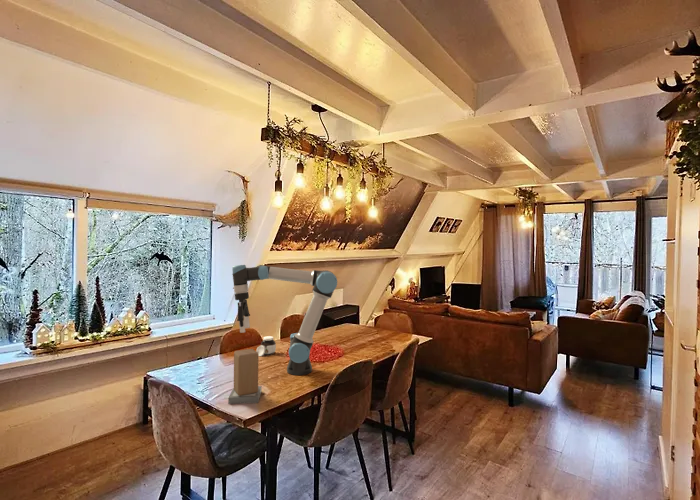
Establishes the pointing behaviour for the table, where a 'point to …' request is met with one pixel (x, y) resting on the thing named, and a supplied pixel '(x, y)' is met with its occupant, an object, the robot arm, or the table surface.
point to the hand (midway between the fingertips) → (245, 330)
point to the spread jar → (267, 346)
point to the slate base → (244, 397)
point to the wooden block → (246, 371)
